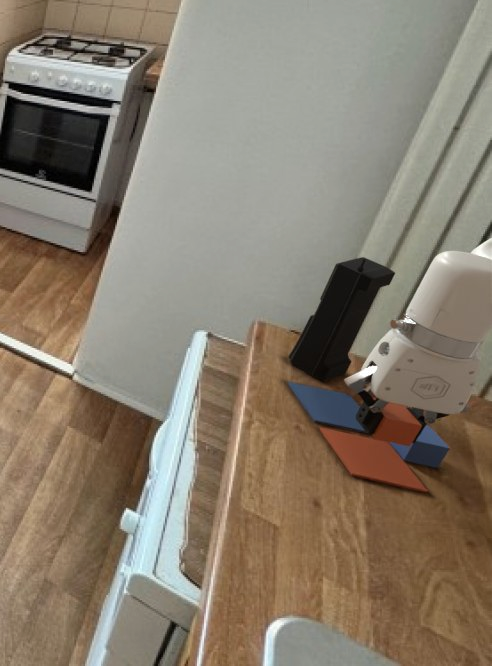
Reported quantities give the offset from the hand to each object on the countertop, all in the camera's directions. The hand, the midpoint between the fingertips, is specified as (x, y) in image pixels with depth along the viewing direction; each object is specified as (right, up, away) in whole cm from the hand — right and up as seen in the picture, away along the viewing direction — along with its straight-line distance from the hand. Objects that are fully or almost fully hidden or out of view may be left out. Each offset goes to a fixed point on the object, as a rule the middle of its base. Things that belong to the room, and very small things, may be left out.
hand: (384, 430), depth 91 cm
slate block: (+8, -5, +3) cm, 10 cm away
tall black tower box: (+10, +1, +21) cm, 23 cm away
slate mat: (+3, -2, +12) cm, 12 cm away
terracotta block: (0, 0, 0) cm, 0 cm away
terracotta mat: (0, -6, +2) cm, 6 cm away
